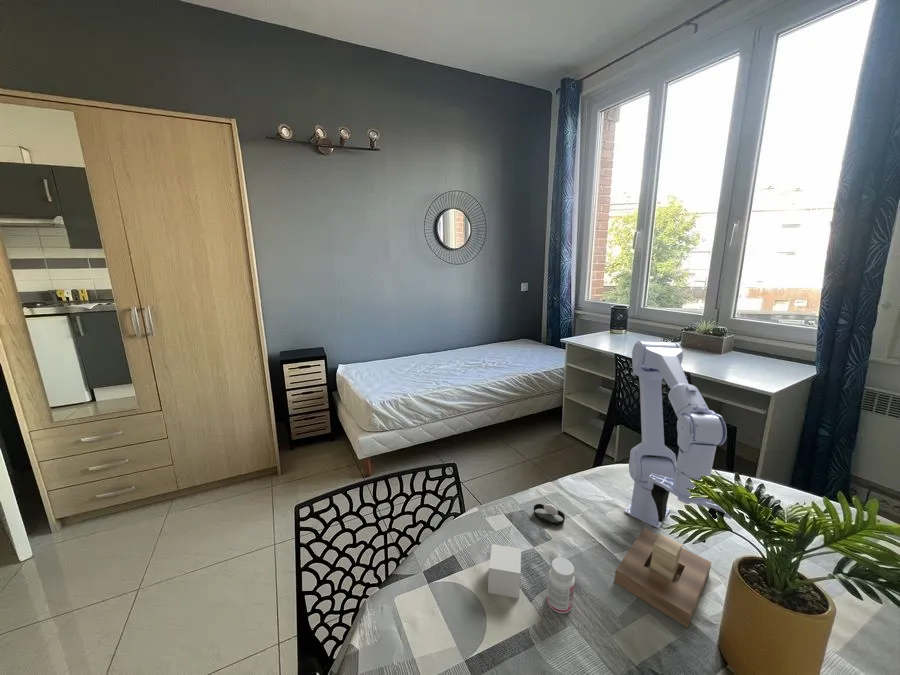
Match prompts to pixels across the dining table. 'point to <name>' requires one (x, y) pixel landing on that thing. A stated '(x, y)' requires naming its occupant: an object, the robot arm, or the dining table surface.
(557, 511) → the watch
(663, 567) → the beech peg
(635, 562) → the socket block
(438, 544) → the dining table surface
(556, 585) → the pill bottle
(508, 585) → the white cube
